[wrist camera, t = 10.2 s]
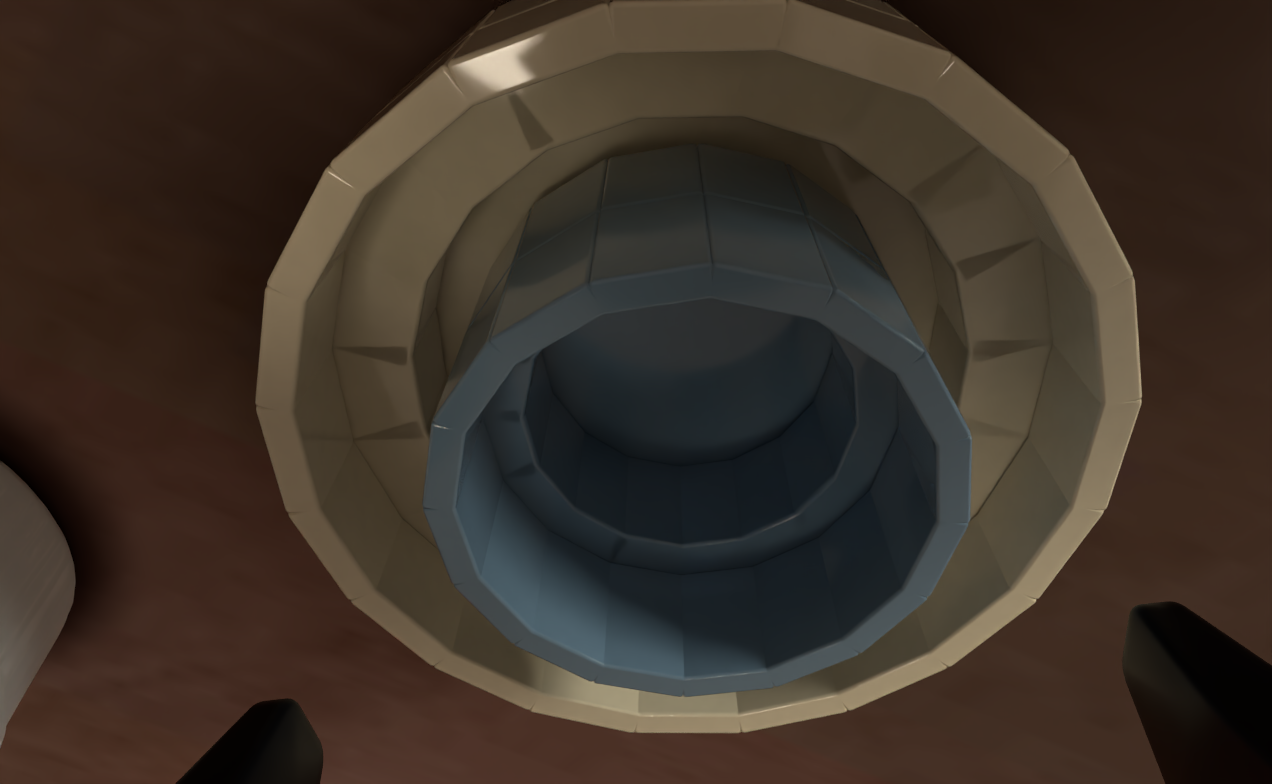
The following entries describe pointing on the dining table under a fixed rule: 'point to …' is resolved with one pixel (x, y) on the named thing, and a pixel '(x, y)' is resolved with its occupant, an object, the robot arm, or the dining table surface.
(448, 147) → the cream bowl
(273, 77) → the dining table surface
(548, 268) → the slate bowl
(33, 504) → the ramekin
